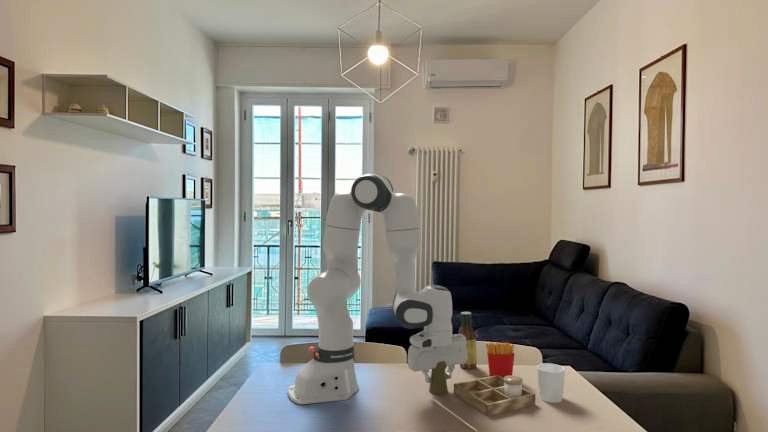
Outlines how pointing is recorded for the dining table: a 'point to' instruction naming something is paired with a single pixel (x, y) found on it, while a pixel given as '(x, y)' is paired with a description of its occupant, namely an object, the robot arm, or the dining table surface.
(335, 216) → the robot arm
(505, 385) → the cream ceramic jar
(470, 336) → the sauce bottle
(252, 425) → the dining table surface
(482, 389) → the oak caddy
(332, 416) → the dining table surface
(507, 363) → the french fries
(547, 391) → the white cup
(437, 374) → the olive pepper mill
